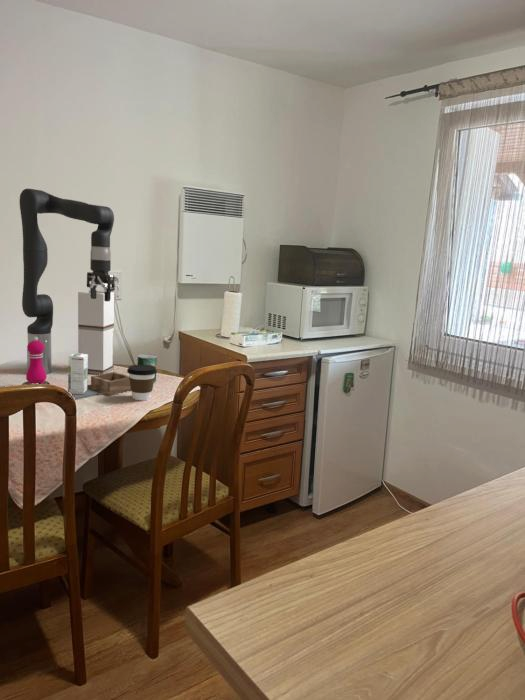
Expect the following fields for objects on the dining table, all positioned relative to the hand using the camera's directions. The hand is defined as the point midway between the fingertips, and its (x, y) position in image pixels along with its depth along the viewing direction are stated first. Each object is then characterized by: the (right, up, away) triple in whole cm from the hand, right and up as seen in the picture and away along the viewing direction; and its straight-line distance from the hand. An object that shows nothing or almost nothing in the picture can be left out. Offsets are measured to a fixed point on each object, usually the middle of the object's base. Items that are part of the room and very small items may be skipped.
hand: (100, 300), depth 211 cm
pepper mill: (-23, -35, -5) cm, 42 cm away
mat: (-5, -36, -10) cm, 38 cm away
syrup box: (-6, -36, -9) cm, 38 cm away
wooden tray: (+5, -35, 0) cm, 35 cm away
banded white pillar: (-10, -29, +25) cm, 40 cm away
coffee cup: (+19, -38, -10) cm, 44 cm away
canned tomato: (+15, -33, +14) cm, 39 cm away
